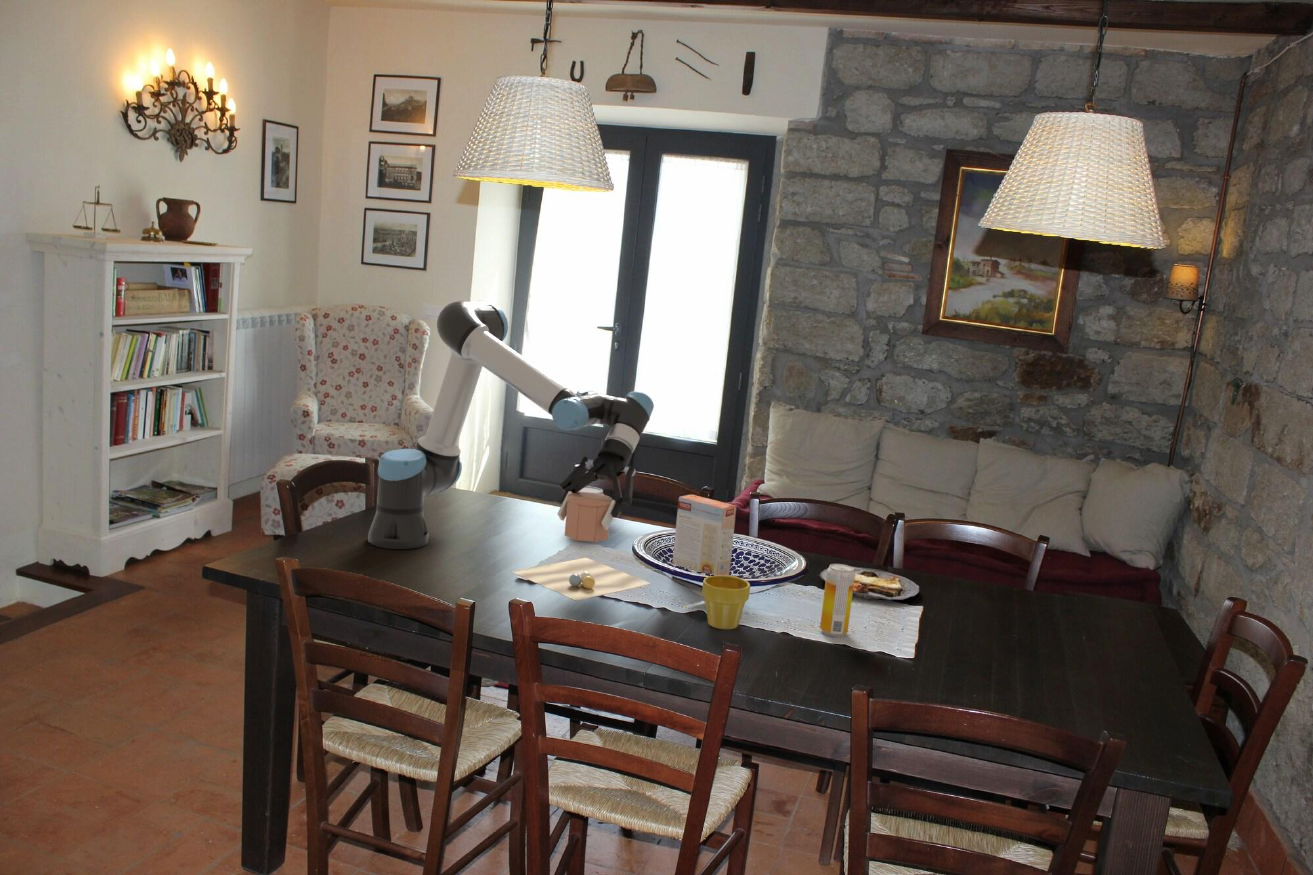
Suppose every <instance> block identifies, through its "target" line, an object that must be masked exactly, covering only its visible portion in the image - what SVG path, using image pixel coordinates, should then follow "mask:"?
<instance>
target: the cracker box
mask: <svg viewBox="0 0 1313 875" xmlns="http://www.w3.org/2000/svg"><path fill="white" fill-rule="evenodd" d="M736 515H737V505H735V504H731V503H727V502H723V501H719V500H715V499H711V498H707V497H703V496H698V495H696V494H686V495H682V496H681V495H680V496H679V497H678V503H677V514H676V524H675V525H676V526H675V533H674V545H673V554H672V562H671V563H672V564H676V565H678V566H681V567H684V568H687V569H688V570H694V571H696V572H702V573H707V574H713V575H727V576H730V573H731V572H730V571H731V565H732V564H731V563H732V552H733V543H734V534H735V524H736Z"/></svg>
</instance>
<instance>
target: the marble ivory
mask: <svg viewBox="0 0 1313 875" xmlns="http://www.w3.org/2000/svg"><path fill="white" fill-rule="evenodd" d="M580 576H581V578H582V581H583V579H584V577H586V576H591V577H592V575H591V574H590V573H589V572H583V573H581V575H580ZM581 583H582V582H581Z"/></svg>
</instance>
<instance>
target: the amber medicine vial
mask: <svg viewBox="0 0 1313 875" xmlns="http://www.w3.org/2000/svg"><path fill="white" fill-rule="evenodd" d="M852 567H853V566H850V565H848V564H842V563H831V564H830V565H829V567H828V568H826V569H827V574H826V582H825V581H824V583H825V584H824V592H823V602H822V608H821V614H820V615H821V616H820V623H819V624H820V625H819V628H820V630H821V632H822V633H823V634H825V635H827V636H830V637H833V638H834V637H835V638H838V637H839V638H840V637H844V636H846V634H847V633H848V631H849V624H850V617H851V610H852V609H851V608H852V601H853V595H854V594H853V587H854V579H855V573H854V568H852Z"/></svg>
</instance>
